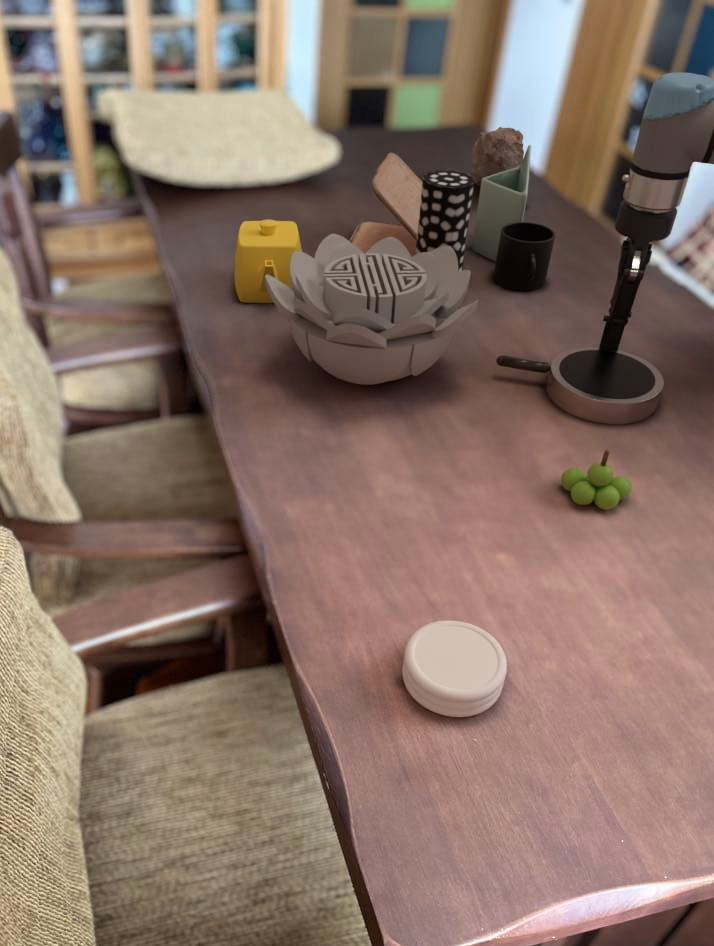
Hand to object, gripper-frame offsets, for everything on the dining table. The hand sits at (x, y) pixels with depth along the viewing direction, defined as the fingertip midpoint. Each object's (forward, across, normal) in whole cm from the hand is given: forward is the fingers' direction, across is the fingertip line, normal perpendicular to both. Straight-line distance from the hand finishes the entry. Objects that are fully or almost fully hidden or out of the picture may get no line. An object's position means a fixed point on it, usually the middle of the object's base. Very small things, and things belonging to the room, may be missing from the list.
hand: (605, 357), depth 128 cm
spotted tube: (+2, -16, -30) cm, 34 cm away
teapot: (+2, -8, -59) cm, 59 cm away
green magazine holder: (+2, -39, -23) cm, 46 cm away
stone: (+2, -70, -27) cm, 75 cm away
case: (+2, -32, -40) cm, 51 cm away
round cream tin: (+1, +69, -11) cm, 70 cm away
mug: (+2, -26, -16) cm, 31 cm away
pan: (+1, +9, -4) cm, 10 cm away
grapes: (+1, +35, 0) cm, 35 cm away
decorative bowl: (+2, +12, -36) cm, 38 cm away
